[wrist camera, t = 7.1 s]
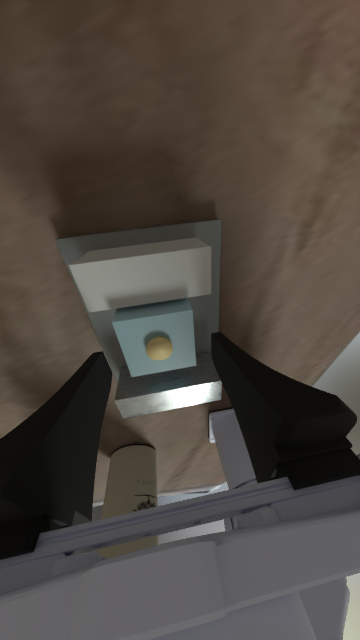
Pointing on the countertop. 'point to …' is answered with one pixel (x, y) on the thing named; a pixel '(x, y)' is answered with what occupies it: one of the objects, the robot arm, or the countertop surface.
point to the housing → (156, 336)
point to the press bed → (143, 235)
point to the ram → (168, 388)
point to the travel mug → (130, 492)
